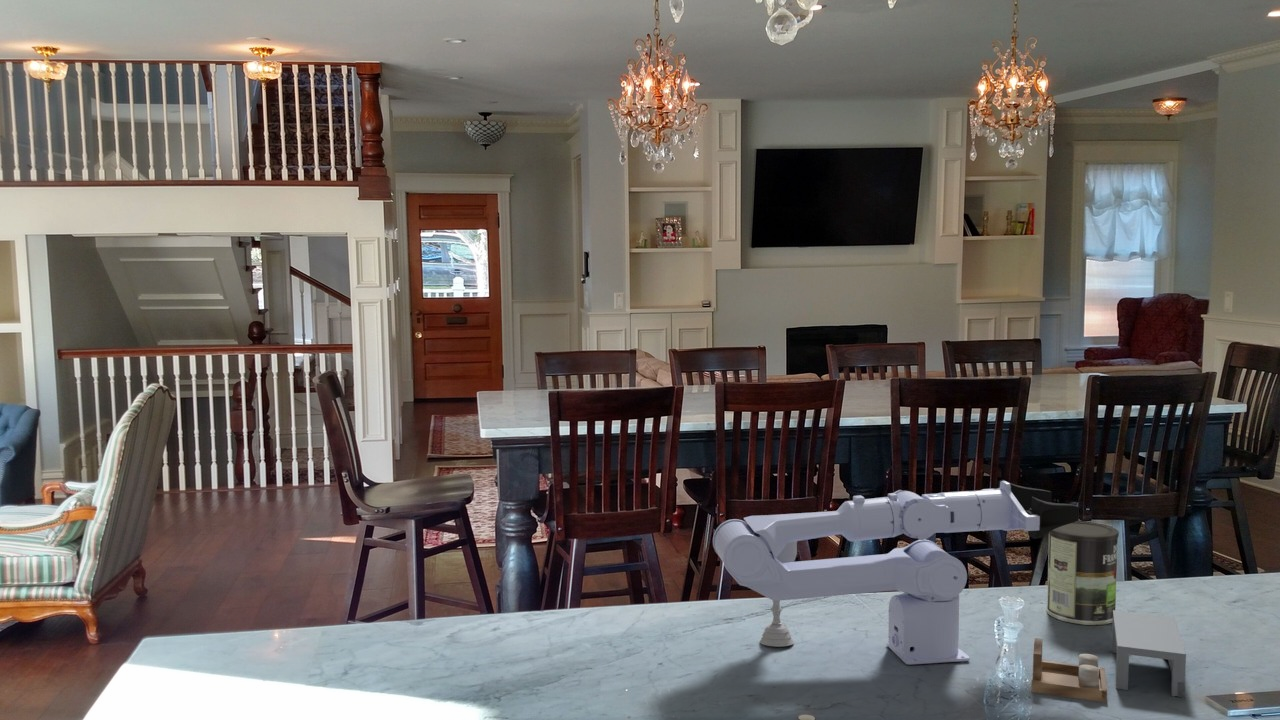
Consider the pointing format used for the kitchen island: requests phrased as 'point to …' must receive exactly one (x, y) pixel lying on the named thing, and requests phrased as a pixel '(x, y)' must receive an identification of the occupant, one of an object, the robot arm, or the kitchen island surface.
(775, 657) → the kitchen island surface
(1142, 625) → the shelf
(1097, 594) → the coffee can
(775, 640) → the chalice
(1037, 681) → the tray
